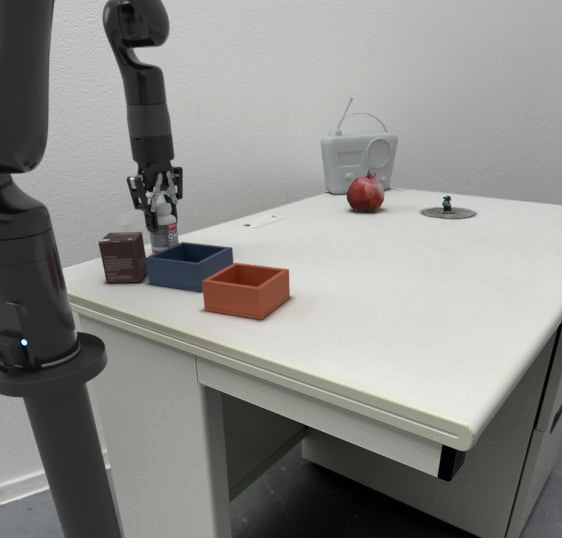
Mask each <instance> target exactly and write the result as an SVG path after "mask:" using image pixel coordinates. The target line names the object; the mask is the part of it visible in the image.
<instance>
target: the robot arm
mask: <svg viewBox="0 0 562 538" xmlns="http://www.w3.org/2000/svg"><path fill="white" fill-rule="evenodd" d="M55 2H56V0H0V362H3V365H5V366H8V367H12V368H16V369H19V370H24V371H27V372H31V373H37V372H39V371H41V370H44V369H49V368H53V367H56V366H60V365H62V364H65V363H67V362H69V361H71V360H73V359H74V358H75V357H77V356H78V355H79V353H80V352H81V346H80V342H79V341H78V336H77V332H78V331H77V327H76V323H75V319H74V315H73V311H72V305H71V302H70V298H69V293H68V288H67V284H66V279H65V276H64V275H65V274H64V271H63V266H62V262H61V257H60V254H59V248H58V244H57V239H56V235H55V231H54V227H53V222H52V219H51V218H52V217H51V214H50V210H49V208H48V206H47V205H46V204H45V203H44V202H42V201H41V200H39V199H37V198H35V197H33V196H31V195H29V194H28V193H27V192H25V191H24V190H23V189H22V188H21V187H20V186H19V185H18V184H17V183H16V182H15V180H14V177H13V175H22V174H29V173H31V172H32V171H34V170H35V169H37V168H38V167H39V165H40V164H41V162H42V160H43V159H44V156H45V153H46V151H47V150H46V149H47V144H48V139H49V138H48V137H49V121H50V65H51V64H50V63H51V44H52V35H53V34H52V33H53V23H54V13H55V12H54V10H55ZM101 17H102V18H101V19H102V20H101V21H102V27H103V31H104V34H105V36H106V39H107V42H108V44H109V46H110V48H111V49H110V50H111V51H112V54H113V56H114V59H115V62H116V64H117V67H118V69H119V74H120V76H121V80H122V86H123V93H124V100H125V106H126V107H125V108H126V124H127V129H128V138H129V144H130V150H131V156H132V160H133V162H134V163H136V164H137V174H135V175H133V176H127V177H126V183H127V187H128V191H129V193H130V198H131V201H132V204H133V207H134V210H137V211H138V210H139V211H142V212H143V216H144V222H145V223H144V224H145V228H146V230H147V232H149V233H150V232H157V231H159V227H158V220H157V212H155V210H156V203H157V201H158V200H159V198H160V196H161V198H162V200H163V203H169V204H171V209H172V210H171V215H173V216H174V217H175V218H176V222H177V224H178V220H179V219H178V217H179V216H178V210H177V209H178V208H177V205H178V202H179V201H180V200H182V199H183V198H184V197H183V196H184V192H183V191H184V188H183V187H184V186H183V185H184V179H183V178H184V174H183V173H184V169H183V167H182V166H173V165H172V161H173V160H174V159H175V148H174V139H173V131H172V121H171V116H170V115H171V114H170V112H169V107H168V100H167V99H168V98H167V92H166V81H165V75H164V72H163V69H162V68H161V67H160V66H158V65H155V64H151V63H146V62H142V61H141V60H140V59H139V57H138V56H137V54H136V52H135V50H134V49H147V48H158V47H163V46H164V45H165V44H166V43H167V41H168V40H169V39H168V38H169V36H170V33H171V32H170V31H171V26H170V24H171V23H170V18H169V15H168V12H167V8H166V6H165V5H164V3H163V1H162V0H107V1H106V2H105V5H104V6H103V9H102V14H101ZM0 371H1V372H3V373H7V372H8V371H9V369H7V368H6V367H4V366H1V365H0Z"/></svg>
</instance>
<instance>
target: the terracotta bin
mask: <svg viewBox="0 0 562 538" xmlns="http://www.w3.org/2000/svg"><path fill="white" fill-rule="evenodd" d="M202 288H203V291H202V297H203V307H204V311H207V312H214V313H219V314H224V315H230V316H236V317H242V318H248V319H253V320H263V319H264V318H266V317H267V316H268V315H269V314H271V313H272V312H273V311H274V310H276V309H277V308H278V307H280V306H281V305H282V304H283V303H285V302H286V301H288V300H289V299H290V298H291V296H290V293H291V292H290V269H289V268H283V267H282V268H281V267H275V266H274V267H273V266H264V265H257V264H250V263H241V262H233V264H232V265H230V266H228V267H226V268H225V269H223V270H221V271H219V272H217V273H216V274H214V275H212V276H210V277H208V278H207V279H205V280H203V281H202Z"/></svg>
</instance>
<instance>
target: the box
mask: <svg viewBox="0 0 562 538" xmlns="http://www.w3.org/2000/svg"><path fill="white" fill-rule="evenodd" d="M98 247H99V253H100V257H101V262H102V268H103V272H104V277H105V281H106V284H115V283H141V281H143V279H144V278H145V276H146V275H147V274H148V272H147V265H146V259H145V258H146V257H147V256H146V249H145V243H144V236H143V232H142V231H134V232H133V231H132V232H128V231H127V232H108V233H107V234H106V235H105V236H104V237H102V238H101V239H100V240H99V241H98Z"/></svg>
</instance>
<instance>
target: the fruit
mask: <svg viewBox="0 0 562 538" xmlns="http://www.w3.org/2000/svg"><path fill="white" fill-rule="evenodd" d="M369 171H370V170H369ZM369 171H368V173H367V176H363V177H358V178H356V179H355V180H354V182H353V183H352V184H351V185H350V187H349V189H348V191H347V194H346V200H347V203H348V205H349V206H350V208H351V209H352V211H358V212H364V213H372V212H376V210H378V209H379V208H381V206H382V205H383V203H384V200H385V190H384V188H383V185H382V183H381V182H379V181H378V180H376V179H375V178H374V177H375V175H376V173H375V174H374V176H373V175H372V173H370V174H369Z"/></svg>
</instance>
